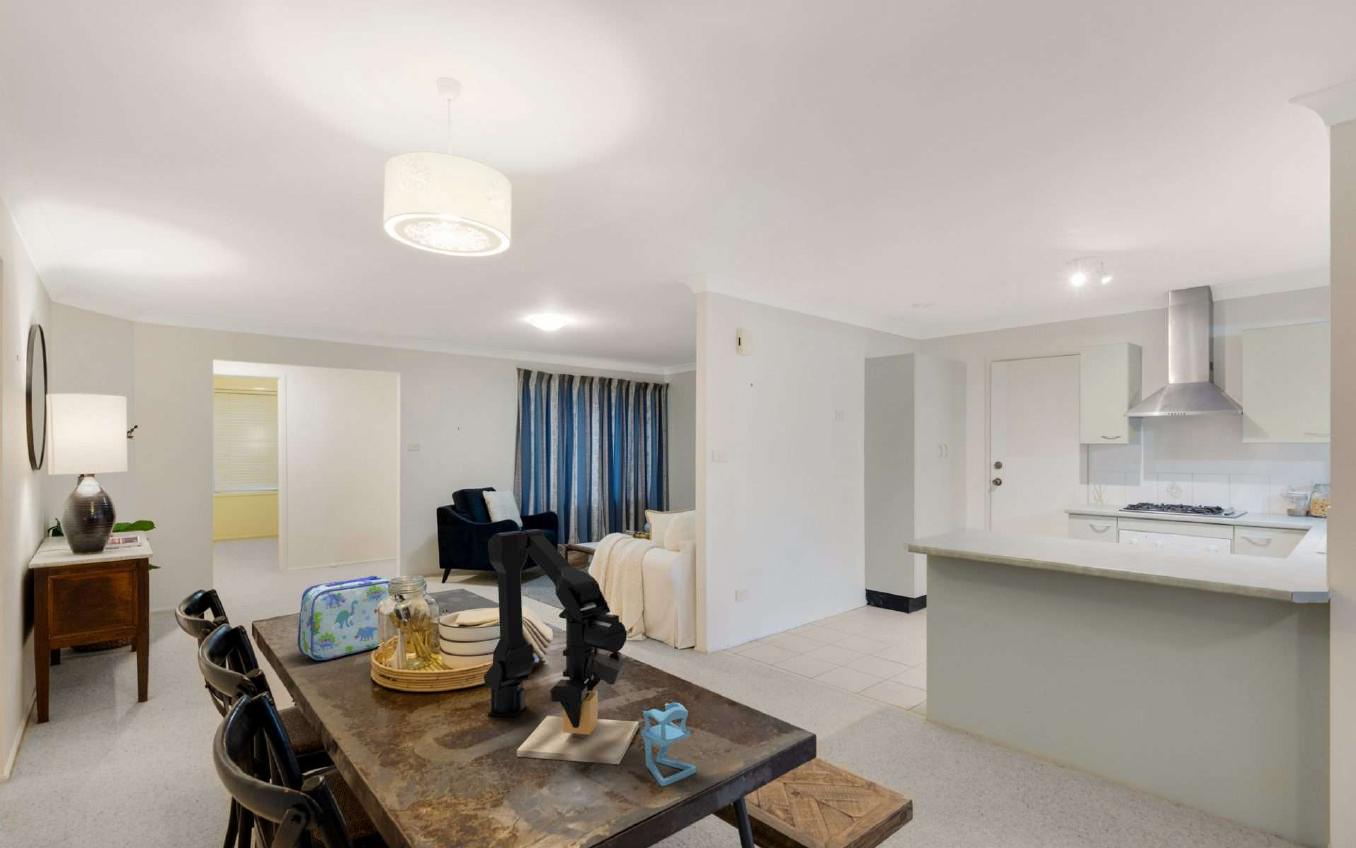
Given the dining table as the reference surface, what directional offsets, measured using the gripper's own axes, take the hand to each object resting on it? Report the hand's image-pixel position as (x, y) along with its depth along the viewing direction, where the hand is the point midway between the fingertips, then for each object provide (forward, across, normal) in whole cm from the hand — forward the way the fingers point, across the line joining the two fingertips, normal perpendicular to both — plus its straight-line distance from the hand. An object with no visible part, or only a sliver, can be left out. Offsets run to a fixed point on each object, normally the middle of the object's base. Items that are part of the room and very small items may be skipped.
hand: (580, 721), depth 130 cm
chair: (+4, -9, -19) cm, 21 cm away
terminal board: (+4, 0, 0) cm, 4 cm away
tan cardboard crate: (+1, 0, 0) cm, 1 cm away
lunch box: (+4, +46, +85) cm, 97 cm away
